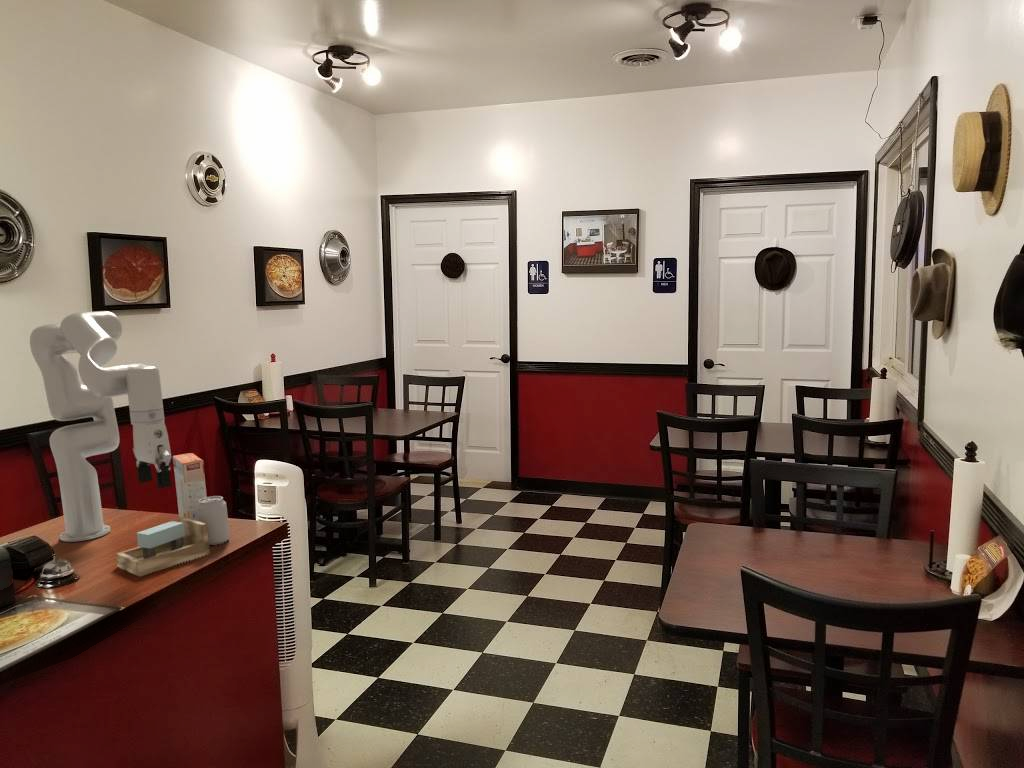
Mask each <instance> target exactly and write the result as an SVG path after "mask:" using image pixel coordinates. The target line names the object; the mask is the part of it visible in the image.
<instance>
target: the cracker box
mask: <svg viewBox="0 0 1024 768" xmlns="http://www.w3.org/2000/svg"><path fill="white" fill-rule="evenodd" d="M172 463H173V471H174V481H175V489H176V498H177V508H178V509H177V510H178V519H179V518H180V517H186V518H189V519H192V520H196V521H198V519H197V510H196V506H197V505H198V504H199V502H198V501H199V500H200V499H202V498H206V497H208V496H207V488H206V478H205V475H206V474H205V467H204V466H205V465H204V464H205V463H204V460H203V459H201V458H200V457H199V456H197V455H196V454H195V453H193V452H191V453H189V452H188V453H183V454H177V455H173V456H172Z"/></svg>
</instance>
